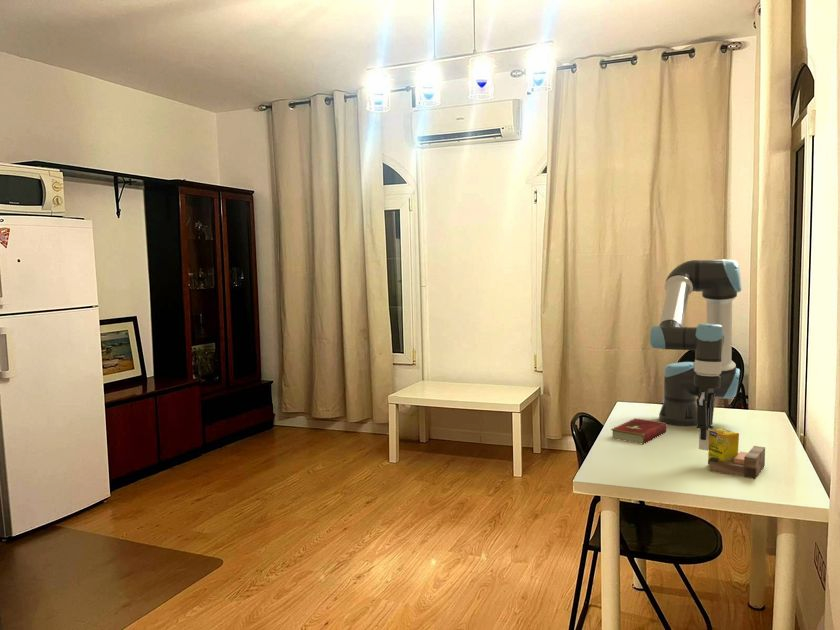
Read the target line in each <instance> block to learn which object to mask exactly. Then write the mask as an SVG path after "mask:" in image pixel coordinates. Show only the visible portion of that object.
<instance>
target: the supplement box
mask: <svg viewBox="0 0 840 630" xmlns="http://www.w3.org/2000/svg"><path fill="white" fill-rule="evenodd" d="M739 440H740V433H739V432H735V431H732V430H729V429H726V428H717V429H715V428H713V429H710V431H709V450H708V451H707V452H708V458H707V464H708V465H709V459H710V458H711V457H713V458H719V460H720V461H726V462H732V463H734V458H735V457H736V456H737V455H738V453H739Z"/></svg>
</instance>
